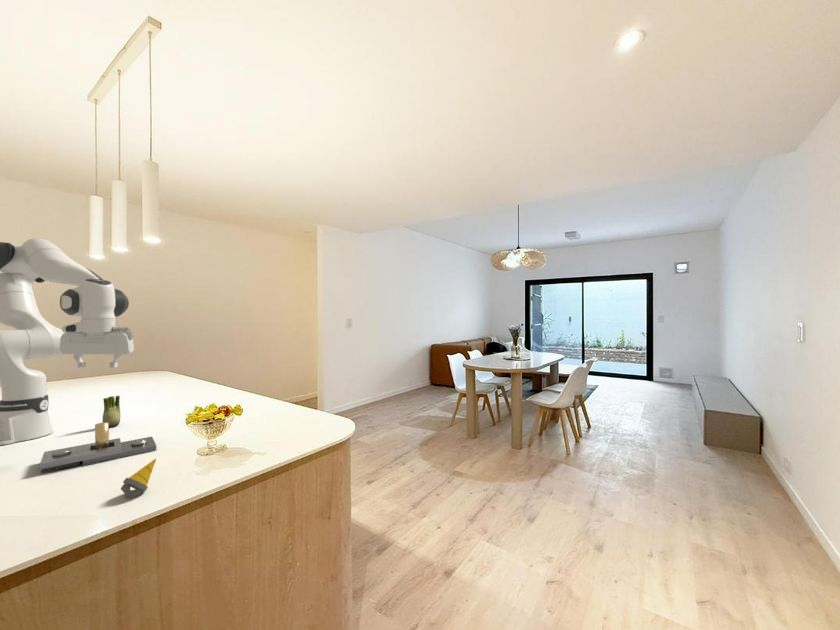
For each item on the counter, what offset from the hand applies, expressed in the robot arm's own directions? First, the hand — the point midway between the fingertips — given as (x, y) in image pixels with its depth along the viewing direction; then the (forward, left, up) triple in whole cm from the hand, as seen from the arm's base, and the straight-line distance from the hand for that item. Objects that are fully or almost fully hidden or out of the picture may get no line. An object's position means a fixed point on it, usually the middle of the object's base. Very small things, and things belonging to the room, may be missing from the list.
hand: (97, 367), depth 123 cm
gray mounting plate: (+8, -13, -26) cm, 30 cm away
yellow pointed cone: (+32, -42, -26) cm, 59 cm away
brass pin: (+8, -13, -26) cm, 30 cm away
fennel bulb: (-8, +21, -26) cm, 35 cm away
